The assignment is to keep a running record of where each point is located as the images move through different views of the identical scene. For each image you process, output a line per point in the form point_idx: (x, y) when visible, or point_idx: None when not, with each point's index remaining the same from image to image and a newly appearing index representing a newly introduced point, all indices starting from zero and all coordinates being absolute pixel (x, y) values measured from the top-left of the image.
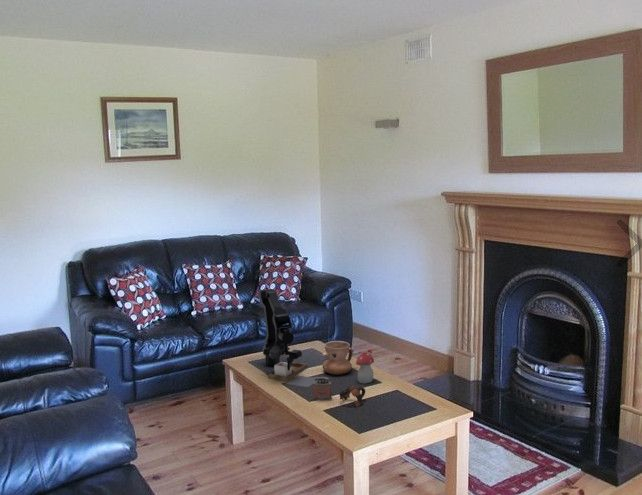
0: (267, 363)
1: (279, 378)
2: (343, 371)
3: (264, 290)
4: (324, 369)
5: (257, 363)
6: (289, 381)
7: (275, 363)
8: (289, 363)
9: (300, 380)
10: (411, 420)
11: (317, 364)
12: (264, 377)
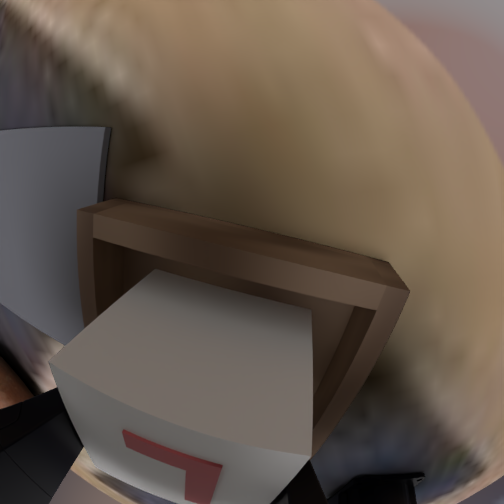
0: (405, 492)
1: (204, 227)
2: None
3: None
4: (6, 381)
5: (452, 478)
6: (91, 202)
7: (302, 502)
8: (2, 409)
9: (36, 250)
10: None
11: None
12: (437, 309)
